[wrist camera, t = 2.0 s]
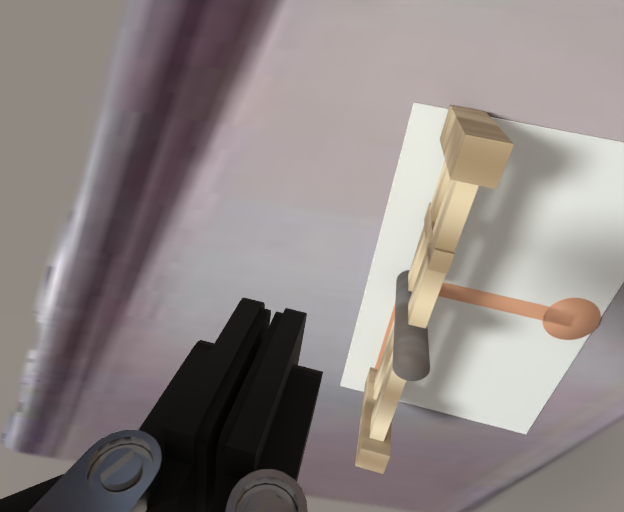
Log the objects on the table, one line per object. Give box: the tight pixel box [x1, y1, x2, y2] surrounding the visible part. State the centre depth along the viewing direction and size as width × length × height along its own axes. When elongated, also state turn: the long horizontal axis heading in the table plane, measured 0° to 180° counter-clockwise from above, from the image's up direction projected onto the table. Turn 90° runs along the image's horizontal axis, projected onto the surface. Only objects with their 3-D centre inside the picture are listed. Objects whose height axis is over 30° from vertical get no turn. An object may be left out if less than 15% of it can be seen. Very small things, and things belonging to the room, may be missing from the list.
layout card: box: [340, 102, 624, 434], centre depth 30 cm, size 24×16×1 cm
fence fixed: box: [355, 270, 430, 474], centre depth 29 cm, size 12×2×9 cm, turn 172°
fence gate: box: [408, 105, 514, 329], centre depth 23 cm, size 11×2×8 cm, turn 172°
